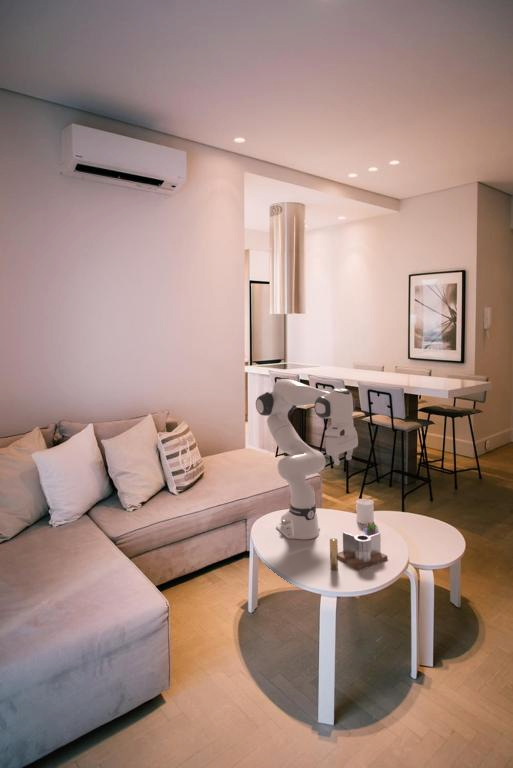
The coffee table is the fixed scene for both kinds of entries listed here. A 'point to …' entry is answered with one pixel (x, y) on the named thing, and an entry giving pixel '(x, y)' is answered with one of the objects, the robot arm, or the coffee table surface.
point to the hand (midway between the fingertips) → (343, 462)
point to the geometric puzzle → (370, 529)
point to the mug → (365, 511)
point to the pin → (333, 554)
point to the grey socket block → (361, 546)
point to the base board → (358, 565)
